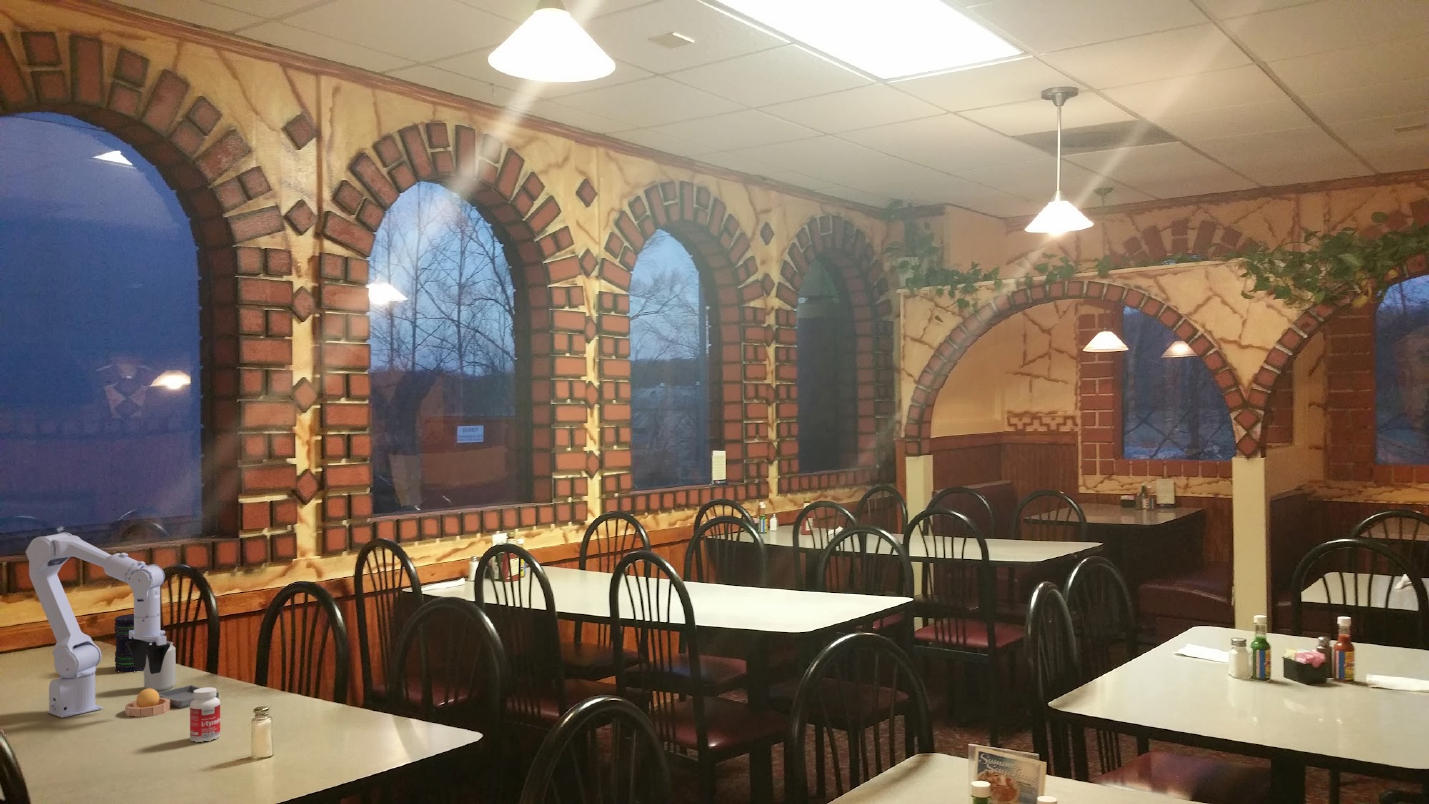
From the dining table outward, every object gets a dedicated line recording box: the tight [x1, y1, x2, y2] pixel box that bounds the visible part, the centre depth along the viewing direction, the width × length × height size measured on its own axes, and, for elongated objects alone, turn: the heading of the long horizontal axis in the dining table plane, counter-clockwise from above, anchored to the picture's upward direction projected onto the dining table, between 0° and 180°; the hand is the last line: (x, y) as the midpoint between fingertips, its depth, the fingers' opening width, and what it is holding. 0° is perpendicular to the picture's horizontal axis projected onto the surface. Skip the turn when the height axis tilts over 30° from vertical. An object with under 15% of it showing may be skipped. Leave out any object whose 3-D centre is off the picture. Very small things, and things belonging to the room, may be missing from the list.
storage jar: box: [114, 613, 151, 673], centre depth 306 cm, size 10×10×15 cm
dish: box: [124, 698, 171, 718], centre depth 263 cm, size 10×10×2 cm
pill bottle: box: [189, 686, 221, 743], centre depth 241 cm, size 6×6×11 cm
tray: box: [157, 684, 220, 710], centre depth 273 cm, size 10×13×2 cm
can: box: [143, 641, 177, 692], centre depth 285 cm, size 8×8×12 cm
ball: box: [135, 688, 159, 708], centre depth 263 cm, size 5×5×5 cm
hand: (147, 670), depth 263 cm, fingers open, 7 cm apart
